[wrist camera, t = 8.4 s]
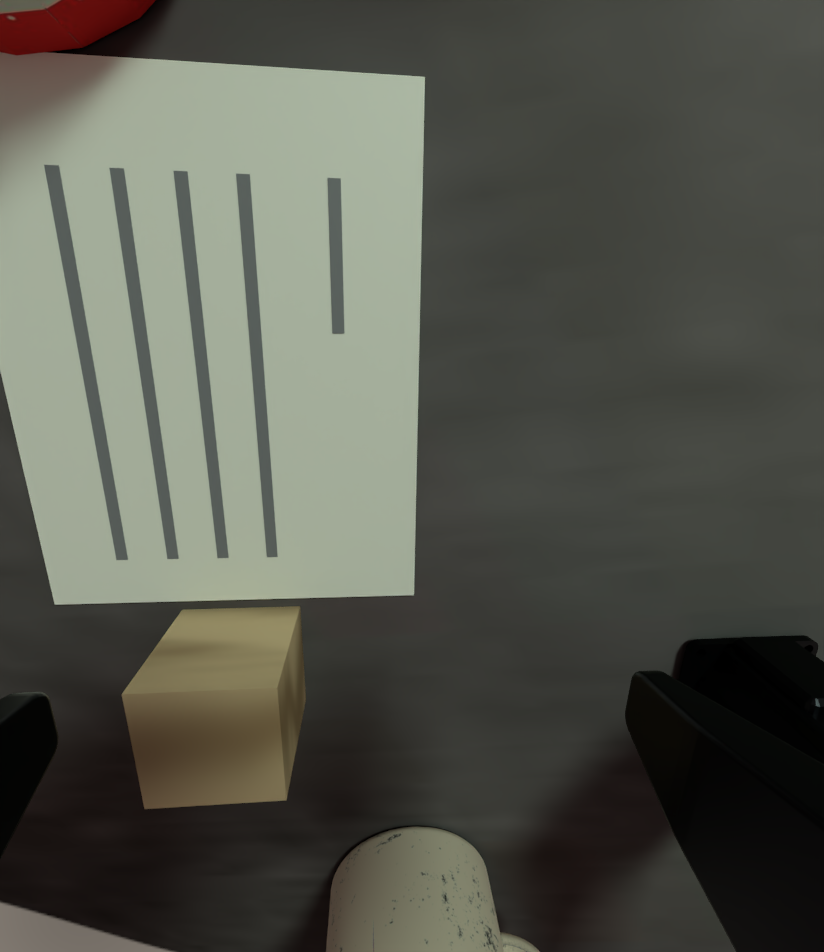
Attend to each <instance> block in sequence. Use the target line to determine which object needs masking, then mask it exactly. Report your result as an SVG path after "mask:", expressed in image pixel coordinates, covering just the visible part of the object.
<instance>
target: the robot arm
mask: <svg viewBox="0 0 824 952" xmlns="http://www.w3.org/2000/svg"><path fill="white" fill-rule="evenodd" d="M817 650H818V644H817V643H816V642H815V641H813V640H812V639H811V638H809V637H808V636H771V637H743V638H722V639H697V640H693V641H691V642H690V643H689V644H688V645H687V647H686V650H685V654H684V659H683V663H682V668H681V673H680V677H679V681H678V680H676V679H674V678H673V677H671V676H669V675H667V674H666V673H664V672H661V671H638V672H636V673H635V674H634V675H633V676H632V680H631V684H630V690H629V695H628V700H627V705H626V710H625V718H626V724H627V727H628V730H629V732H630V735H631V737H632V739H633V742H634V744H635V746H636V749H637V751H638V753H639V756H640V758H641V760H642V763H643V765H644V767H645V770H646V772H647V774H648V777H649V779H650V781H651V784H652V786H653V788H654V791H655V793H656V795H657V798H658V800H659V802H660V805H661V807H662V809H663V812H664V814H665V816H666V818H667V820H668V823H669V825H670V827H671V829H672V831H673V833H674V835H675V837H676V839H677V841H678V843H679V845H680V847H681V849H682V851H683V853H684V855H685V857H686V859H687V860H688V862H689V864H690V866H691V868H692V870H693V872H694V874H695V875H696V877H697V879H698V881H699V883H700V885H701V887H702V889H703V891H704V892H705V894H706V896H707V898H708V900H709V902H710V904H711V906H712V907H713V909H714V911H715V913H716V915H717V917H718V919H719V921H720V922H721V924H722V926H723V928H724V930H725V932H726V934H727V936H728V937H729V939H730V941H731V943H732V945H733V947H734V949H735V951H736V952H824V662H823V661H822V660H820V659H819V658H817V657H816V653H817ZM697 651H698V652H697ZM57 745H58V732H57V728H56V724H55V719H54V715H53V711H52V707H51V703H50V699H49V697H48V696H47V695H46V694H45V693H42V692H23V693H13V694H10V695H8V696H6V697H4V698H2V699H0V858H1V856H2V855H3V853H4V851H5V849H6V847H7V845H8V843H9V841H10V839H11V837H12V835H13V833H14V832H15V830H16V828H17V826H18V824H19V822H20V820H21V818H22V816H23V814H24V812H25V810H26V809H27V807H28V805H29V803H30V801H31V799H32V797H33V795H34V793H35V791H36V789H37V787H38V785H39V784H40V782H41V780H42V778H43V776H44V774H45V772H46V770H47V768H48V766H49V764H50V762H51V761H52V759H53V757H54V754H55V752H56V749H57Z"/></svg>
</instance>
